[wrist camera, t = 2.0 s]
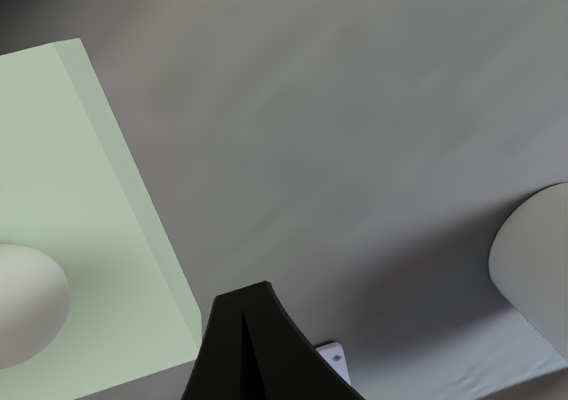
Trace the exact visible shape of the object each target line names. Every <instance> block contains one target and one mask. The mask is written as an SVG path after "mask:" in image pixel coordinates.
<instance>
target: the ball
mask: <svg viewBox="0 0 568 400" xmlns="http://www.w3.org/2000/svg"><path fill="white" fill-rule="evenodd" d="M70 301H71V294H70V287H69V283H68V280H67V278H66V276H65V274H64V272H63V270H62V269H61V268H60V266H59V265H58V264H57V263H56V262H55V261H54V260H53V259H52V258H50V257H49V256H48V255H46V254H44V253H43V252H41V251H39V250H36V249H34V248H31V247H27V246H23V245H17V244H0V370H2V369H6V368H10V367H13V366H16V365H18V364H20V363H23V362H25V361H27V360H29V359H30V358H32V357H33V356H35V355H36V354H38V353H39V352H41V351H42V350H43V349H44V348H46V347H47V346H48V345H49V344H50V343H51V342H52V341H53V339H54V338H55V337H56V336H57V335H58V333H59V332H60V330H61V329H62V327H63V325H64V323H65V321H66V318H67V316H68V313H69V308H70Z"/></svg>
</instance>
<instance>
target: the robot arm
mask: <svg viewBox="0 0 568 400" xmlns="http://www.w3.org/2000/svg"><path fill="white" fill-rule="evenodd" d="M336 355H337V356H336ZM334 356H335V357H334ZM181 400H365V399H364V398H363V397H362V396H361V395H360V394H359V393H358V392H357V391H356V390H355V389H354V388H352V387H351V383H350V379H349V374H348V370H347V365H346V361H345V356H344V351H343V348H342V346H341V344H340V343H337V342H334V343H330V344H327V345H324V346H321V347H318V348H314V347H313V346H312V344H311V343H310V342H309V341H308V340H307V338H306V337H305V336H304V335H303V333H302V332H301V331H300V330H299V328H298V327H297V326H296V325H295V323H294V322H293V321H292V319H291V318H290V317H289V315H288V314H287V312H286V311H285V309H284V308H283V306H282V305H281V303H280V301H279V300H278V298H277V296H276V294H275V292H274V290H273V288H272V285H271V283H270V282H267V281H263V282H259V283H256V284H253V285H250V286H247V287H244V288H241V289H237V290H234V291H231V292H228V293H225V294H222V295H219V296H216V298H215V299H214V301H213V305H212V310H211V314H210V317H209V321H208V325H207V328H206V331H205V335H204V338H203V341H202V344H201V347H200V350H199V353H198V356H197V359H196V362H195V365H194V368H193V371H192V373H191V376H190V379H189V381H188V384H187V386H186V389H185V391H184V394H183V396H182V399H181Z"/></svg>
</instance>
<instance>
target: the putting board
mask: <svg viewBox="0 0 568 400" xmlns="http://www.w3.org/2000/svg"><path fill="white" fill-rule="evenodd" d="M0 244H17V245H23V246H27V247H31V248H34V249H36V250H39V251H41V252H43V253H44V254H46V255H48V256H49V257H50V258H52V259H53V260H54V261H55V262H56V263H57V264H58V265H59V266H60V268H61V269H62V270H63V272H64V274H65V276H66V278H67V280H68V283H69V287H70V294H71V301H70V308H69V313H68V316H67V318H66V321H65V323H64V325H63V327H62V329H61V330H60V332H59V333H58V335H57V336H56V337H55V338H54V339H53V341H52V342H51V343H50V344H49V345H48V346H47V347H46V348H44V349H43V350H42V351H41V352H39V353H38V354H36V355H35V356H33V357H32V358H30V359H29V360H27V361H25V362H23V363H20V364H18V365H16V366H13V367H10V368H6V369H2V370H0V400H74V399H77V398H80V397H83V396H86V395H89V394H92V393H95V392H98V391H101V390H104V389H107V388H110V387H113V386H116V385H119V384H122V383H125V382H128V381H131V380H134V379H137V378H140V377H143V376H146V375H149V374H153V373H156V372H159V371H162V370H165V369H168V368H171V367H174V366H177V365H180V364H183V363H186V362H189V361H192V360H195V359H197V356H198V353H199V350H200V347H201V344H202V336H201V312H200V310H199V307H198V305H197V303H196V301H195V298H194V296H193V294H192V292H191V289H190V287H189V285H188V282H187V280H186V278H185V276H184V273H183V271H182V269H181V267H180V264H179V262H178V260H177V258H176V255H175V253H174V251H173V248H172V246H171V244H170V242H169V239H168V237H167V235H166V233H165V230H164V228H163V226H162V223H161V221H160V219H159V217H158V214H157V212H156V210H155V208H154V205H153V203H152V201H151V199H150V196H149V194H148V192H147V189H146V187H145V185H144V183H143V180H142V178H141V176H140V174H139V171H138V169H137V167H136V165H135V162H134V160H133V158H132V155H131V153H130V151H129V149H128V146H127V144H126V142H125V140H124V137H123V135H122V133H121V131H120V128H119V126H118V124H117V121H116V119H115V117H114V115H113V112H112V110H111V108H110V106H109V103H108V101H107V99H106V96H105V94H104V92H103V90H102V87H101V85H100V83H99V81H98V78H97V76H96V74H95V72H94V69H93V67H92V65H91V62H90V60H89V58H88V56H87V53H86V51H85V49H84V47H83V44H82V42H81V40H80V38H77V39H71V40H65V41H59V42H53V43H49V44H45V45H41V46H37V47H33V48H29V49H25V50H21V51H18V52H14V53H10V54H6V55H2V56H0Z"/></svg>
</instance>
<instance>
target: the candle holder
mask: <svg viewBox="0 0 568 400" xmlns="http://www.w3.org/2000/svg"><path fill="white" fill-rule="evenodd" d="M489 273H490V276H491V279H492V281H493V283H494V285H495V286H496V288H497V289H498V290H499V291H500V292H501V294H502V295H503V296H504V297H505V298H506V299H507V300H508V301H509V302H510V303H511V304H512V305H513V306H514V307H515V308H516V310H517V311H518V312H519V313H520V314H521V315H522V316H523V317H524V318H525V319H526V320H527V321H528V322H529V323H530V324H531V325H532V326H533V327H534V328H535V329H536V330H537V331H538V332H539V333H540V334H541V335H542V336H543V337H544V338H545V339H546V340H547V341H548V342H549V343H550V345H551V346H552V347H553V348H554V349H555V350H556V351H557V352H558V353H559V354H560V355H561V356H562V357H563V358H564V359H565V360H566V361H567V362H568V182H566V183H561V184H557V185H554V186H551V187H549V188H546V189H544V190H542V191H540V192H538V193H537V194H535V195H533V196H532V197H530V198H529V199H527V200H526V201H525V202H524V203H522V204H521V205H520V206H519V207H518V208H517V209H516V210H515V211H514V212H513V213H512V214H511V215H510V216H509V217H508V218H507V220H506V221H505V222H504V224H503V225H502V227H501V228H500V230H499V231H498V233H497V235H496V237H495V239H494V241H493V244H492V247H491V250H490V255H489Z"/></svg>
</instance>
